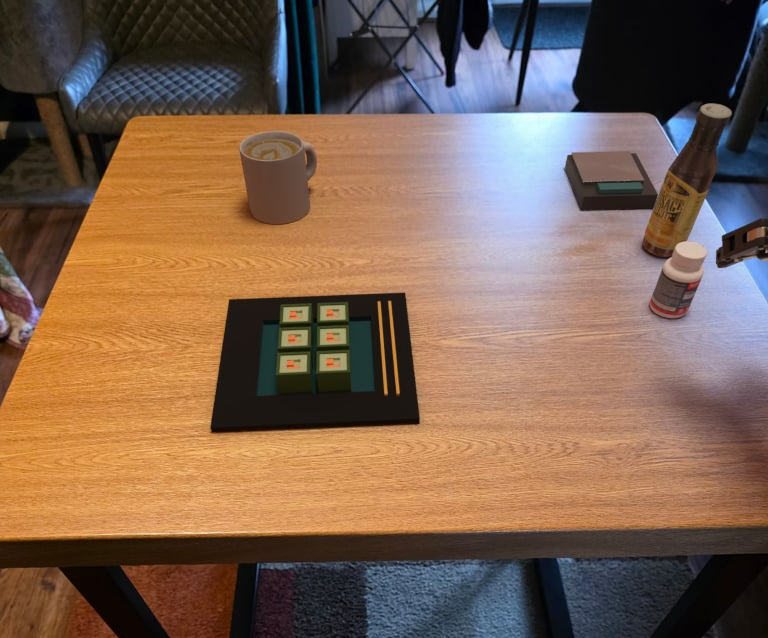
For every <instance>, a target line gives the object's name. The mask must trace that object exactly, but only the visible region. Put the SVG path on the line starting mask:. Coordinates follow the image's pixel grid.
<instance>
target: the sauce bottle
mask: <svg viewBox="0 0 768 638" xmlns="http://www.w3.org/2000/svg"><path fill="white" fill-rule="evenodd" d="M732 115H733V112H732V110H731V109H730V108H729V107H727V106H725V105H723V104H719V103H706V104H703V105H701V106H700V108H699V110H698V112H697V114H696V117H695V124H694V127H693V129H692V131H691V134H690V136H689V138H688V140H687V142H686V143H685V144H684V146H683V147H682V149H681V150H680V151H679V153H678V155H677V156H676V157H675V159H674V160H673V162H672V163H671V165H670V166H669V167H668V169H667V171H666V174H665V177H664V179H663V182H662V185H661V187H660V190H659V193H658V196H657V199H656V202H655V205H654V208H653V209H652V211H651V215H650V218H649V219H648V223H647V225H646V228H645V230H644V235H643V239H642V244H643V248H644V250H645V251H646V252H648V253H650V254H652V255H654V256H656V257H658V258H671V257H672V254H673V251H674V249H675V247H676V245H677V244H678V243H680V242H685V241H689V240H688V239H689V237H690V236H691V233H692V230H693V228H694V225H695V223H696V220H697V219H698V216H699V214H700V211H701V209H702V207H703V204H704V202H705V200H706V198H707V195H708V194H709V191H710V188H711V185H712V183H713V179H714V177H715V176H716V172H717V170H718V168H719V162H718V161H719V160H718V157H717V156H718V155H717V151H718V150H717V149H718V146H719V145H720V140H721V137H722V135H723V133H724V130H725V128H726V127H727V126H728V125H729V123H730V120H731V117H732Z"/></svg>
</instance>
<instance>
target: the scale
mask: <svg viewBox="0 0 768 638" xmlns="http://www.w3.org/2000/svg"><path fill="white" fill-rule="evenodd" d="M564 171H565V172H566V175H567V178H568V180H569V181H568V182H569V184H570V186H571V188H572V192H573V194H574V196H575V199H576V201H577V204H578V207H579V210H580V211H613V210H617V211H618V210H619V211H620V210H653V209H654V206H655V203H656V200H657V198H658V195H659V193H658V192H657V190H656V188H655V186H654V184H653V182H652V181H651V179H650V177H649V175H648V173H647V171H646V169H645V167H644V165H643V163H642V162H641V160H640V158H639V156H638V154H637V153H636V152H633V153H631V152H630V150H624V151H623V150H619V151H618V150H617V151H616V150H615V151H613V150H612V151H577V152H576V151H574V152H571V153H570V154H567V156H566V159H565V166H564Z"/></svg>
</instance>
